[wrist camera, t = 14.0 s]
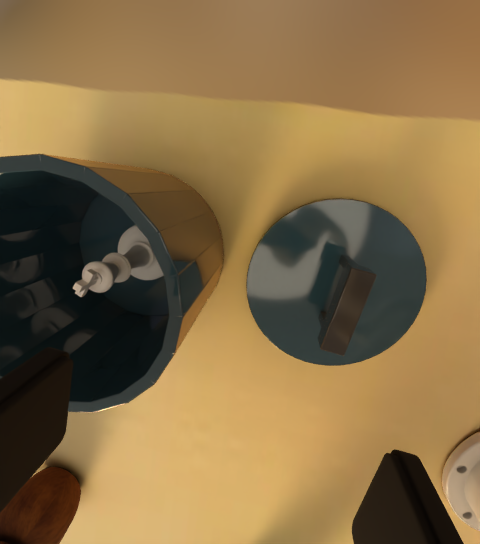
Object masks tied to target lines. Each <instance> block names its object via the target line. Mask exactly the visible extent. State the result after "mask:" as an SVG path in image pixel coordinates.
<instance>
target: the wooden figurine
mask: <svg viewBox="0 0 480 544" xmlns="http://www.w3.org/2000/svg"><path fill="white" fill-rule="evenodd" d="M80 495H81V489H80V485H79V483H78V481H77V479H76V478H75V477H74V476H73V475H72V474H71V473H70V472H68V471H67V470H65V469H62V468H58V467H49V468H46V469H44V470H42V471H40V472H38V473H36V474H35V475H34V476H33V477H31V478H30V479H29V480H28V481H27V482H26V483H25V485H24V486H23V487H22V488H21V489H20V490H19V492H18V493H17V494H16V495H15V496H14V497H13V499H12V500H11V501H10V502H9V503H8V504H7V505H6V507H5V508H4V509H3V510H2V511H1V512H0V544H59V543H60V542H61V540H62V538H63V537H64V535H65V533H66V531H67V529H68V527H69V526H70V524H71V522H72V520H73V518H74V516H75V514H76V511H77V509H78V505H79V501H80Z"/></svg>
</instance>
